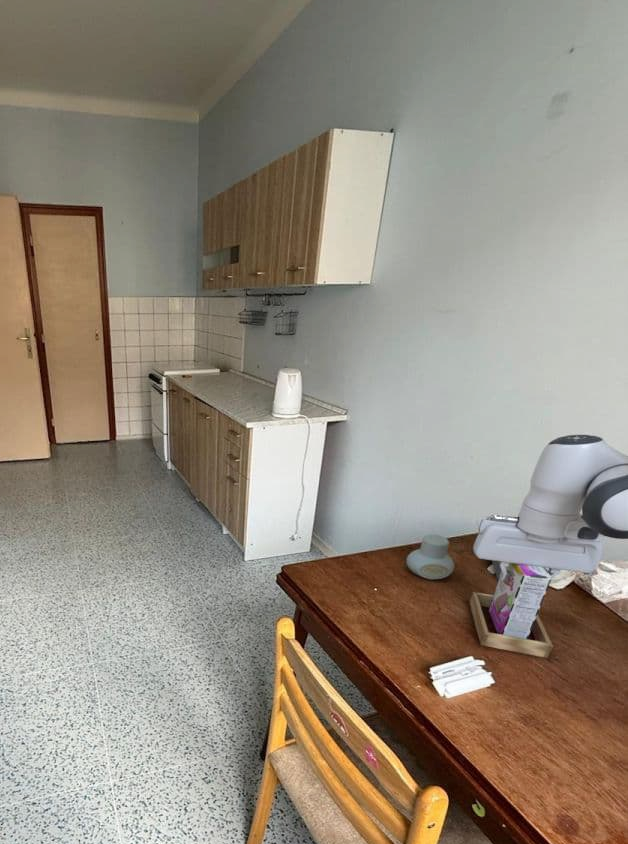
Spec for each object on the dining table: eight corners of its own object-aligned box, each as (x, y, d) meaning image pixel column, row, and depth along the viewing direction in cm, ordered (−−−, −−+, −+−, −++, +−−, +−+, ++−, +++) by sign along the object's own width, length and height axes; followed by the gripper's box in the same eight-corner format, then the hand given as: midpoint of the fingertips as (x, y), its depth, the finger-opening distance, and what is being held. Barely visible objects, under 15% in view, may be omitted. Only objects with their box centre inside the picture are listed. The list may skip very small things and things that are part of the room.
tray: (527, 612, 107) (531, 601, 105) (547, 658, 93) (553, 646, 92) (469, 602, 111) (472, 591, 109) (480, 645, 97) (484, 633, 96)
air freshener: (446, 567, 125) (455, 533, 120) (454, 583, 118) (465, 548, 113) (401, 563, 127) (409, 530, 122) (407, 579, 120) (416, 544, 115)
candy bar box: (486, 611, 107) (508, 547, 99) (511, 615, 106) (536, 550, 98) (498, 641, 98) (523, 573, 90) (526, 646, 96) (554, 577, 89)
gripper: (486, 519, 91) (466, 581, 97) (617, 534, 84) (587, 599, 90) (480, 507, 96) (462, 566, 102) (604, 520, 89) (576, 582, 96)
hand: (522, 582), depth 96 cm, fingers closed on candy bar box, 5 cm apart
